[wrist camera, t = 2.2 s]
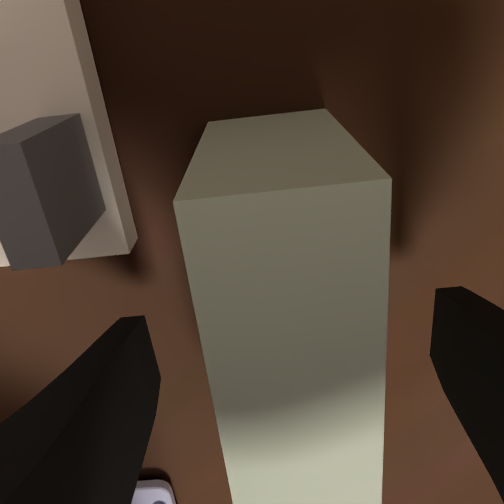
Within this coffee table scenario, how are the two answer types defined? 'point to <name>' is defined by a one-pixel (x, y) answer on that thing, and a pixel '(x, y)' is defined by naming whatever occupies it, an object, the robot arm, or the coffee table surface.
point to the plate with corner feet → (55, 143)
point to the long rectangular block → (291, 303)
